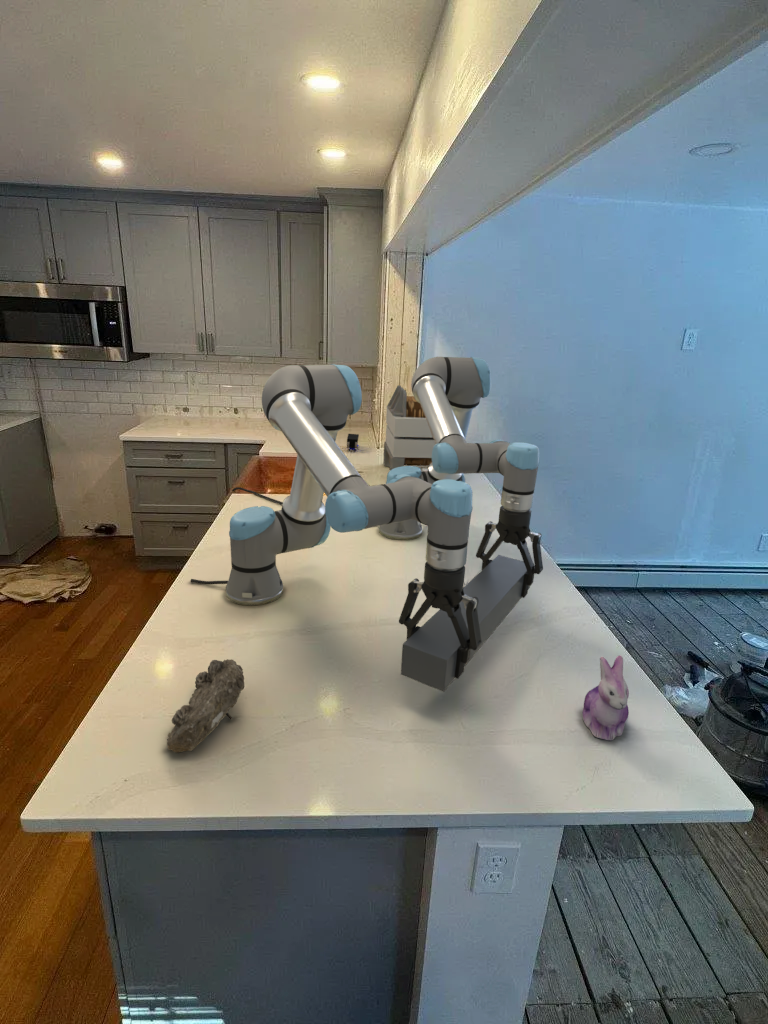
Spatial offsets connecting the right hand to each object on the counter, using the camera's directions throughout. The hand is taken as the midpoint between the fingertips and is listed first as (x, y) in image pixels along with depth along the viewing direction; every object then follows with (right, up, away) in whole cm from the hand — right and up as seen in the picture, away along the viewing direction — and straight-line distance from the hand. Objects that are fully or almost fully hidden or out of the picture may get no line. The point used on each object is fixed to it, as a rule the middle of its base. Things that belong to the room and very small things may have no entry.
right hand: (505, 589), depth 145 cm
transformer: (-14, +39, +130) cm, 136 cm away
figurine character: (-49, +55, +170) cm, 185 cm away
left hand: (-21, -11, -32) cm, 40 cm away
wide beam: (-10, -6, -16) cm, 20 cm away
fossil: (-64, -19, -37) cm, 76 cm away
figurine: (+12, -22, -35) cm, 43 cm away
